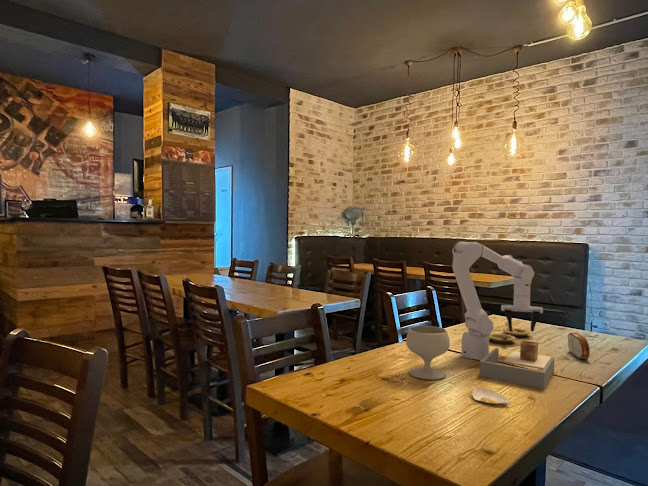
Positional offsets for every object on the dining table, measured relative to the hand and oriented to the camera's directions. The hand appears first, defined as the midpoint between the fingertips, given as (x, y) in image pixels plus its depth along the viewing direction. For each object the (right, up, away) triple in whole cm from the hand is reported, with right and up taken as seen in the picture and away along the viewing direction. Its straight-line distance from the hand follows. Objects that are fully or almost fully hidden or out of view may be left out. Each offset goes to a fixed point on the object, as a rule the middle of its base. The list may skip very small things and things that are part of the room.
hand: (521, 330), depth 164 cm
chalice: (-42, -10, -24) cm, 49 cm away
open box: (-12, -10, -23) cm, 27 cm away
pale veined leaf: (-30, -11, -45) cm, 55 cm away
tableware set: (+5, -10, +23) cm, 26 cm away
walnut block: (0, -9, -7) cm, 12 cm away
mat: (0, -10, -7) cm, 12 cm away
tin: (+21, -10, -1) cm, 23 cm away
